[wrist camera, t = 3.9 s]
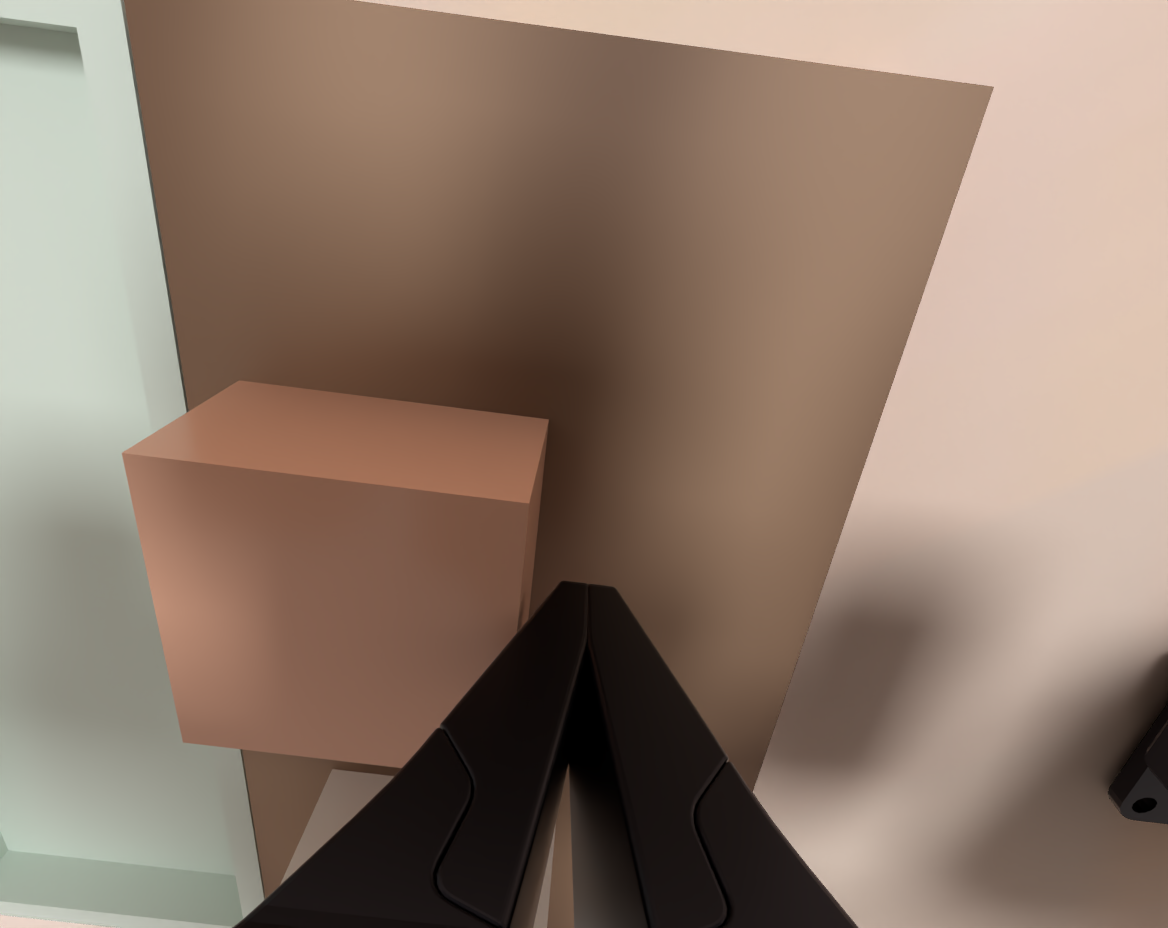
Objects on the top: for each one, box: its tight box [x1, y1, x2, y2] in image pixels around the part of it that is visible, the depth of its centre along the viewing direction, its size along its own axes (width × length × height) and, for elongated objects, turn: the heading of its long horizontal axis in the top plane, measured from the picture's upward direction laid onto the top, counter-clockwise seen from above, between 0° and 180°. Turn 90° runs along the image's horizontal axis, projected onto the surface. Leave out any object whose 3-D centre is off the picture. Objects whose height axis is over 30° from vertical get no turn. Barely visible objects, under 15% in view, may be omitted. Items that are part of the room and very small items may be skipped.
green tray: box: [0, 0, 266, 928], centre depth 13 cm, size 8×20×2 cm, turn 173°
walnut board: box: [124, 0, 994, 928], centre depth 13 cm, size 10×20×2 cm, turn 173°
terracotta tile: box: [122, 380, 549, 768], centre depth 9 cm, size 4×4×2 cm
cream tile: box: [280, 769, 556, 928], centre depth 13 cm, size 4×4×2 cm
